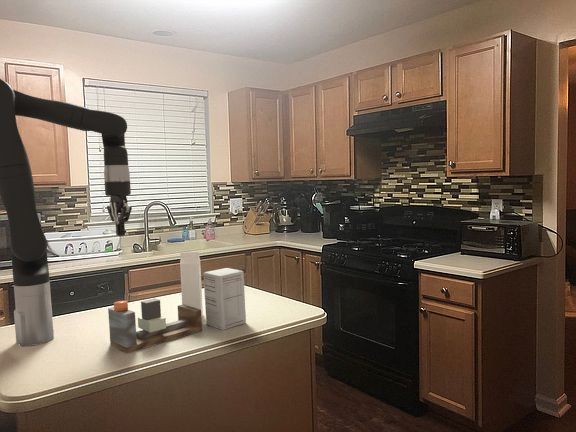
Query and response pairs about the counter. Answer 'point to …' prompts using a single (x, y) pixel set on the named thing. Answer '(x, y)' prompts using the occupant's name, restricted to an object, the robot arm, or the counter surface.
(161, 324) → the carriage
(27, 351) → the counter surface
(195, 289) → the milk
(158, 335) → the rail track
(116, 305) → the button
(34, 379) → the counter surface
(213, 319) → the supplement box
